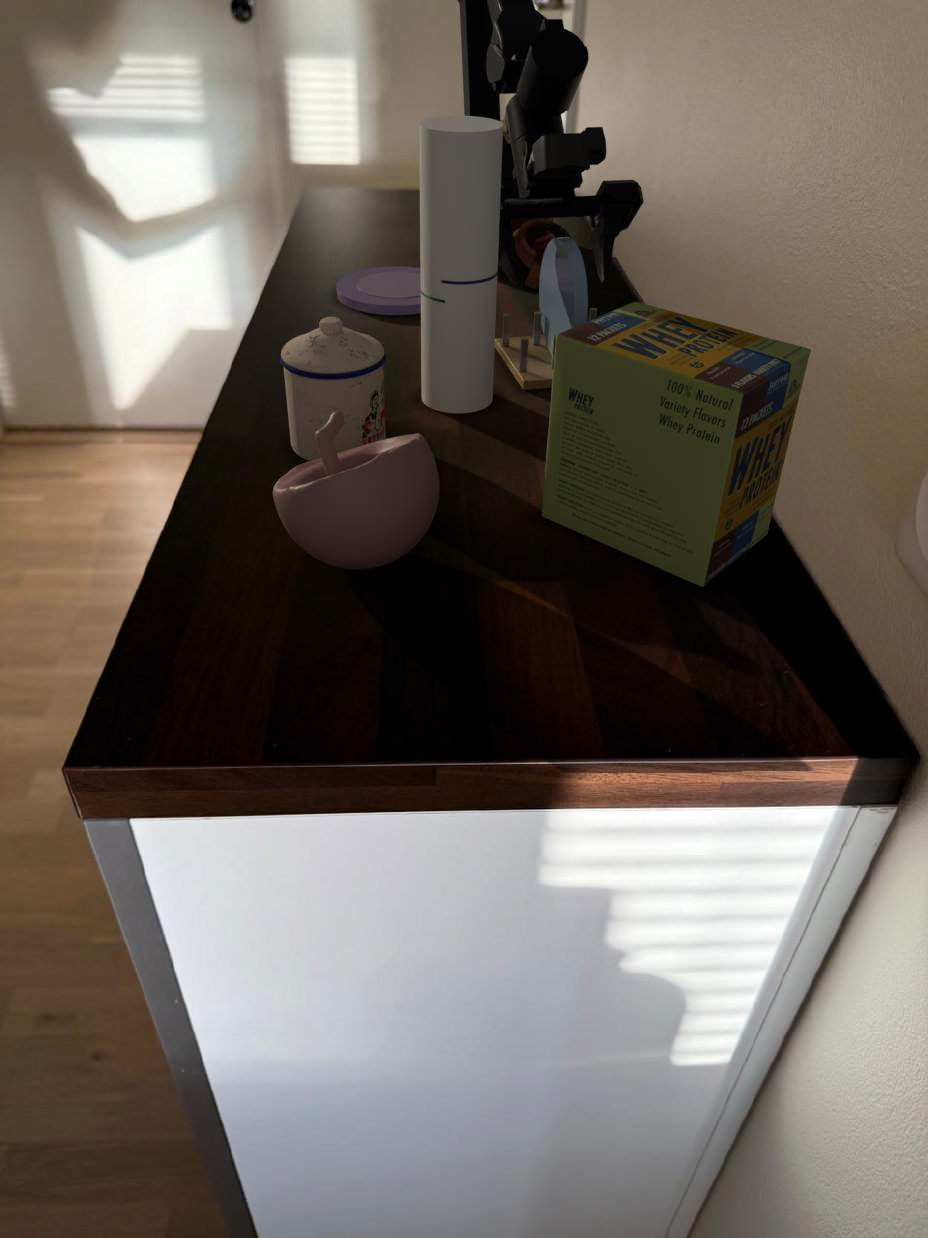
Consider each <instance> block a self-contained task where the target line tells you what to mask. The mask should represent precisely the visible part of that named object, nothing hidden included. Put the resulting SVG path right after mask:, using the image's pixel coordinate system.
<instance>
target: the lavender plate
mask: <svg viewBox="0 0 928 1238" xmlns="http://www.w3.org/2000/svg"><path fill="white" fill-rule="evenodd" d="M335 290H336V291H335V292H336V298H337V300H338V301H339V302H340V303H341V304H342V305H344V306H345V307H346V308H347V307H348V308H349V309H352V310H354V311H358V312H363V313H367V314H372V315H373V314H374V315H381V316H411V315H421V267H414V266H403V265H402V266H400V265H399V266H398V265H397V266H378V267H370V268H365V269H360V270H357V271H353V272H351V273H348V274H346V275H344V276H343V277H341V278H340V279H338V281H337V282H336V285H335Z"/></svg>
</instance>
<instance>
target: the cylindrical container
mask: <svg viewBox="0 0 928 1238" xmlns="http://www.w3.org/2000/svg"><path fill="white" fill-rule="evenodd" d="M418 124H419V125H418V126H419V127H418V128H419V129H418V132H419V134H418V135H419V136H418V137H419V140H418V141H419V246H420V247H419V254H420V255H419V259H420V260H419V262H420V267H419V268H421V314H420V341H421V342H420V355H421V356H420V358H421V359H420V361H421V363H420V364H421V365H420V369H421V372H420V374H421V375H420V378H421V379H420V380H421V381H420V382H421V383H420V384H421V401H422V404H424V405H425V406H426V407H428V408H430V409H432V410H435V411H438V412H442V413H446V414H470V413H475V412H478V411H482V410H484V409H486V408H488V407H489V406H490V405H491V404H492V402H493V398H494V378H495V377H494V375H495V374H494V373H495V350H496V348H495V338H496V324H497V323H496V322H497V295H498V294H497V293H498V271H499V270H498V247H499V220H500V194H501V168H502V142H503V123H502V122H500V121H497V120H494V119H490V118H484V117H476V116H464V115H439V116H432V117H428V118H424V119H422V120H420V121H419V122H418Z"/></svg>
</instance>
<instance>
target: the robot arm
mask: <svg viewBox="0 0 928 1238" xmlns="http://www.w3.org/2000/svg"><path fill="white" fill-rule="evenodd" d="M457 3H458V5H459V20H460V23H459V24H460V42H461V43H460V45H461V64H462V65H461V66H462V67H461V68H462V87H463V89H462V90H463V112H464V115H463V116H476V117H484V118H490V119H494V120H497V121H500V120H501V95H504V94H505V95H512V94H514V95H513V96H512V97H511V98H510V99H509V100H508V103H507V104H506V106H505V110H504V113H505V112H506V118H507V128H506V131H507V133H508V134H509V136H510V142H511V143H510V144H508V142H507V140H506V139H505V137H504V135H503V142H502V168H501V194H500V220H499V247H498V264H499V265H500V267H501V268H502V269H503V271H502V272H504V274H505V275H506V276H507V278H508V279H509V281H510V282H511V284H512V285H513V287H514V288H515V289H516V290H518V291H519V290H521V289H522V287H523V276H522V269H521V264H519V260H518V256H517V252H516V248H515V243H514V239H513V235H512V229H511V219H528V218H538V219H539V218H553V219H557V218H559V219H560V218H578V217H579V218H583V217H589V222H590V227H591V228H593V230H592V232H591V234H590V241H591V247H592V251H593V257H594V262H595V267H596V274H597V276H598V279H599V282H600V284H601V285H602V286H603V285H606V284H607V282H608V280H609V277H610V270H611V263H612V259H613V251H614V247H615V242H616V241H615V240H616V238H617V237H618V236H619V235H620V233H621V232H623V231H625V230H627V229H628V228H629V227H630V225H631V224H632V222H633V220H634V219H635V218H636V216H637V214H638V212H639V211H640V209H641V207H642V206H643V204H644V203H645V200H644V194H643V189H642V186H641V185H640V184H639V183H638V181H637V180H635V179H615V180H614V179H613V180H612V179H611V180H610V179H609V180H602V182H601V184H600V185H599V187H598V189H597V191H596V193H595V195H594V194H593V195H576V191H575V190H576V189H580V188H581V186H582V184H583V182H584V179H583V173H584V172H585V171H589V170H590V169H591V166H598V165H600V164H601V163H602V162H604V161H605V160H606V158H607V140H606V135H605V132H604V128H603V126H587V127H585V128H584V130H582V131H581V132H567V133H566V132H565V129H564V123H563V118H562V115H563V114H564V113H565V112H568V111H569V109H570V107H571V105H572V103H573V100H574V98H575V95H576V94H577V91H578V88H579V86H580V84H581V81H582V79H583V76H584V74H585V72H586V69H587V68H588V67H587V66H588V64H589V60H590V59H589V58H590V56H589V50H588V47H587V46H586V45H585V43H584V42H583V41H582V39H581V38H580V37H579V36H578V35H577V34H575V33H574V32H573V31H570V30H568V29H567V28H565V26H564V20H563V19H562V18H547V17H546V16H545V15H543V14H542V13H541V12H540V11H538V10H537V8H536V7H535V3H534V0H457ZM500 122H501V121H500ZM519 196H520V198H519Z"/></svg>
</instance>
